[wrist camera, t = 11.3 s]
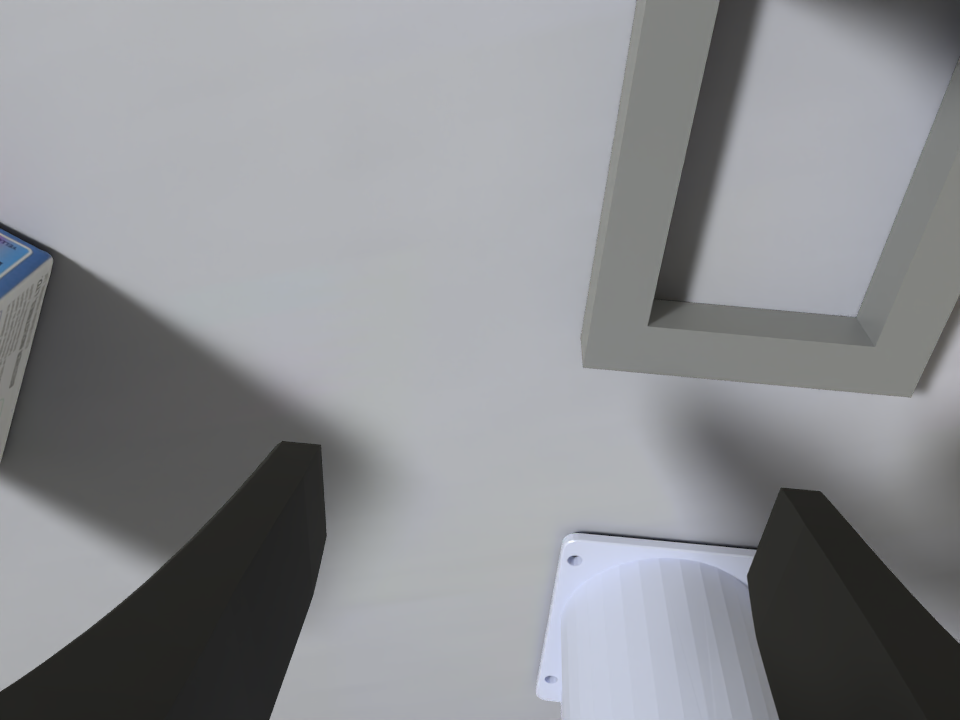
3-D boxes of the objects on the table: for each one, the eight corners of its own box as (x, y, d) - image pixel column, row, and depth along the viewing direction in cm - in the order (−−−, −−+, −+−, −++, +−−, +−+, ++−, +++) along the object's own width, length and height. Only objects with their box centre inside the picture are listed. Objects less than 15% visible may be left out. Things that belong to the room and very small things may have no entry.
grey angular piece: (890, 366, 23) (1059, 628, 15) (580, 338, 23) (599, 585, 16) (1139, -195, 15) (1707, -209, 8) (675, -232, 15) (801, -283, 8)
